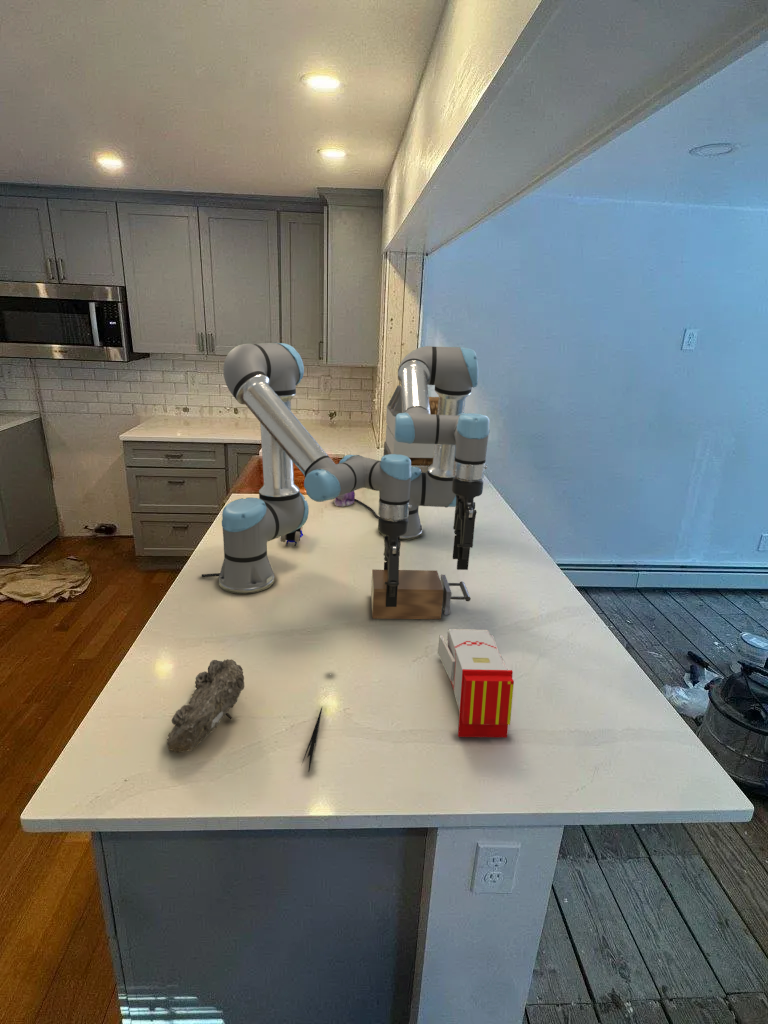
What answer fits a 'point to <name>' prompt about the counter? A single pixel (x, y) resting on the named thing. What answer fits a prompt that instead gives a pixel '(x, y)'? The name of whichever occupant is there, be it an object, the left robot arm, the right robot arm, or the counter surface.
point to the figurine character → (292, 537)
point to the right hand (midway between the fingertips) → (460, 563)
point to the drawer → (447, 593)
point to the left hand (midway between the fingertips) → (389, 594)
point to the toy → (478, 682)
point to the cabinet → (408, 595)
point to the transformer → (414, 451)
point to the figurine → (345, 499)
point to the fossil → (206, 705)
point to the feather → (313, 740)
